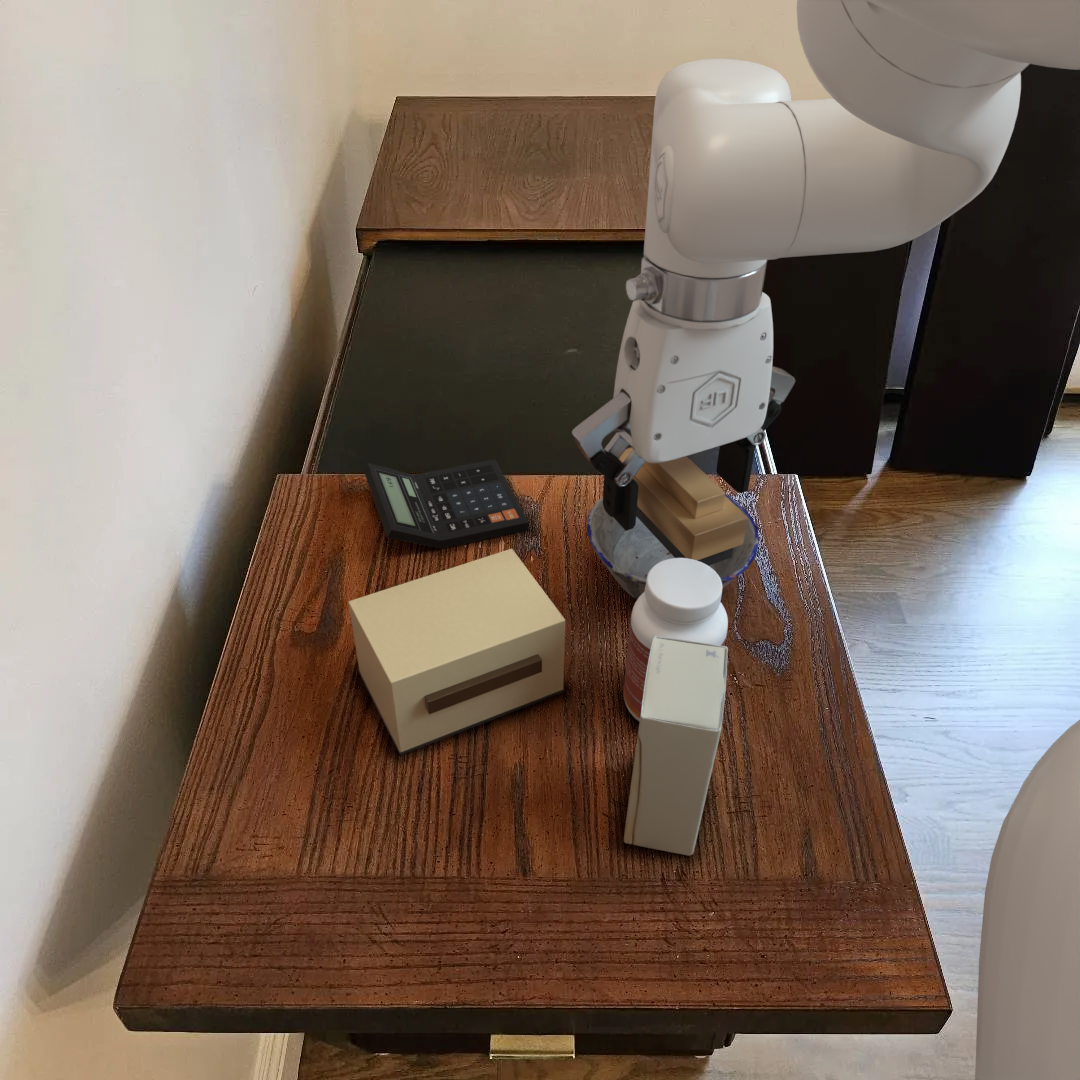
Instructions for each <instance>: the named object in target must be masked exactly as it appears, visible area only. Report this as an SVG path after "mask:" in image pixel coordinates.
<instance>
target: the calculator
mask: <svg viewBox="0 0 1080 1080" xmlns="http://www.w3.org/2000/svg"><path fill="white" fill-rule="evenodd" d="M363 472H364V476H365V478H366V482H367V484H368V487H369V490H370V492H371V496H372V498H373V502H374V505H375V508H376V511H377V513H378V516H379V519H380V522H381V524H382V527H383V530H384V533H385V536H386V538H387V539H390V540H395V541H401V542H405V543H411V544H415V545H420V546H425V547H430V548H435V549H441V550H442V549H443V550H444V549H447V548H451V547H452V548H453V547H457V546H462V545H467V544H470V543H475V542H479V541H486V540H490V539H494V538H499V537H504V536H508V535H513V534H517V533H522V532H528V531H529V521H528V519H527V517H526V515H525V513H524V511H523V509H522V507H521V506H520V505H521V504H520V503H519V502H518V500H517V498H516V496H515V494H514V492H513V490H512V488H511V486H510V484H509V482H508V481H507V479H506V477H505V475H504V473H503V471H502V469H501V467H500V466H499V463H498V461H497V460H496V458H494V459H489V460H484V461H478V462H472V463H467V464H463V465H457V466H452V467H447V468H442V469H436V470H431V471H426V472H420V473H416V474H415V473H414V474H412V473H408V472H404V471H401V470H397V469H393V468H390V467H386V466H381V465H378V464H375V463H371V462H367V463H366V465H365V467H364V470H363Z"/></svg>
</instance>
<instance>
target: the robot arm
mask: <svg viewBox="0 0 1080 1080" xmlns="http://www.w3.org/2000/svg"><path fill="white" fill-rule="evenodd" d="M796 20H797V21H796V23H797V30H798V37H799V40H800V45H801V47H802V50H803V53H804V56H805V58H806V61H807V62H808V65H809V67H810V69H811V70H812V72H813V74H814V75H815V77H816V79H817V80H818V82H819V83H820V84H821V86H822V87H823V88H824V90H825V91H826V92H827V93H828V94H829V95H830V97H831V98H819V99H799V100H798V99H797V100H792V94H791V89H790V85H789V83H788V81H787V80H786V78H785V77H784V76H783V75H782V74H781V73H780V72H779V71H777V70H776V69H774V68H772V67H769V66H767V65H764V64H761V63H757V62H755V61H754V62H753V61H748V60H743V59H733V58H705V59H698V60H692V61H688V62H684V63H681V64H678V65H676V66H674V67H673V68H671V69H670V70H669V71H667V72H666V73H665V74H664V75H663V77H662V79H661V80H660V82H659V84H658V85H657V90H656V93H655V99H654V106H653V107H654V108H653V120H652V132H651V146H650V158H649V160H650V161H649V173H648V174H649V175H648V185H647V186H648V188H647V199H646V215H645V227H644V229H645V230H644V241H643V242H644V243H643V257H641V264H640V274H638V275H637V276H636V277H633V278H628V280H626V283H625V293H626V296H627V298H628V299H629V300H630V301H631V302H632V303H631V307H630V310H629V313H628V316H627V319H626V323H625V326H624V329H623V330H624V331H623V334H622V339H621V344H620V348H619V354H618V360H617V363H616V364H617V365H616V371H615V378H614V387H613V396H612V399H610V400H609V401H608V402H606V403H605V404H603V405H602V406H601V407H600V408H599V409H598V410H596V411H594V412H593V413H592V414H590V415H589V416H588V417H587V418H586V419H584V420H582V422H580V423H579V424H578V425H577V426H575V427H574V428H573V429H572V431H571V437H572V439H573V441H574V442H575V444H576V445H577V447H578V449H579V450H580V452H581V453H582V456H583V457H584V458H585V459H586V460H587V462H588V463H589V464H590V465H591V466H592V467H593V468H594V469H595V470H596V471H598V472H599V473H601V474H602V475H603V491H602V497H603V506H604V509H605V511H606V512H607V514H608V515H609V516H610V517H614V519H615V520H616V521H617V522H618V523H619V524H620V525H621V526H622V527H623V528H624V530H626V531H627V530H630V529H633V528H634V526H635V525H636V513H637V501H638V489H639V487H638V484H637V482H636V481H635V480H634V479H633V478H634V477H635V475H636V474H637V473H638V471H639V470H640V469H641V467H642V466H643V465H644V463H645V462H648V463H663V462H667V461H671V460H675V459H678V458H681V457H685V456H687V457H688V456H692V455H694V454H698V453H701V452H704V451H707V450H711V449H714V448H718V447H719V449H718V455H717V462H716V468H715V469H716V474H717V475H718V476H719V477H720V478H721V479H722V480H723V481H724V482H725V483H726V484H728V485H729V486H730V487H731V489H733V490H734V491H735V492H737V493H739V494H743V493H746V492H748V491H749V488H750V487H749V486H750V482H751V474H752V469H753V464H754V458H755V452H756V447H757V446H759V445H761V444H762V443H763V442H764V441H765V440H766V436H767V434H766V432H765V431H766V430H767V429H768V428H769V426H770V425H771V424H772V423H773V422H774V421H775V420H776V418H777V417H779V415H780V414H781V412H782V406H781V405H782V403H785V400H786V399H787V397H788V396H789V394H790V392H791V390H792V389H793V387H794V385H795V383H796V379H795V377H794V376H792V375H791V374H790V373H789V372H787V371H786V370H784V369H783V368H780V367H777V366H774V365H773V362H774V361H773V359H774V322H773V312H772V303H771V298H770V296H769V295H768V294H766V293H765V292H763V290H764V283H765V277H766V272H767V271H766V270H767V264H768V261H770V260H771V261H772V260H778V259H782V258H784V259H785V258H797V257H798V258H799V257H809V256H810V257H811V256H824V255H839V254H840V255H841V254H853V253H854V254H856V253H869V252H870V253H871V252H877V251H882V250H887V249H891V248H894V247H895V248H896V247H898V246H900V245H904V244H906V243H908V242H911V241H913V240H915V239H916V238H919V237H920V236H923V235H924V234H926V233H927V232H930V231H931V230H932V229H934V228H935V227H937V226H938V225H940V224H942V223H943V222H944V221H945V220H946V219H948V218H950V217H951V216H953V215H954V214H955V213H957V212H958V211H960V210H962V208H963V207H965V206H966V205H968V204H969V203H971V202H972V201H973V200H974V199H975V198H976V197H978V195H980V194H981V193H982V192H983V191H984V190H985V188H986V187H987V186H988V185H989V184H990V182H991V181H992V180H993V178H994V176H995V175H996V173H997V171H998V169H999V166H1000V164H1001V163H1002V160H1003V158H1004V156H1005V153H1006V151H1007V149H1008V146H1009V144H1010V141H1011V137H1012V134H1013V132H1014V129H1015V126H1016V125H1015V124H1016V121H1017V118H1018V115H1019V109H1020V101H1021V99H1020V98H1021V93H1022V92H1021V91H1022V75H1021V74H1022V72H1023V71H1024V70H1025V69H1026V68H1027V67H1029V66H1030V65H1034V66H1040V67H1046V68H1053V69H1054V68H1055V69H1063V70H1065V69H1066V70H1072V71H1073V70H1075V71H1080V0H796ZM613 432H615V434H614V435H613V436H612V438H611V439H610V441H609V442H608V443H607V444H606V446H605V447H603V440H604V439H605V438H606V437H607V436H609V435H610V434H611V433H613ZM629 446H630V448H631V447H632V448H633V450H632V451H631V452H630V454H629V455H628V456H627V458H626V459H625V460H624V462H623V463H622V462H621V461H620V460H619V458H620V456H621V455H622V454H623V452H624V451H625V450H626V449H628V448H629ZM982 910H983V911H982V912H983V913H982V921H981V922H982V923H981V935H980V946H979V957H978V958H979V959H978V977H977V978H978V979H977V980H978V982H977V1009H976V1010H977V1011H976V1013H977V1014H976V1041H975V1070H974V1080H1080V719H1079V720H1077V721H1076V722H1075V723H1073V724H1072V725H1071V726H1069V727H1068V728H1067V729H1066V730H1065V731H1064V732H1063V733H1062V734H1061V735H1060V736H1059V737H1058V738H1057V739H1056V740H1055V741H1054V742H1053V743H1052V744H1051V745H1050V746H1049V747H1048V749H1047V750H1046V751H1045V752H1044V754H1042V755H1041V757H1040V758H1039V759H1038V760H1037V762H1036V763H1035V764H1034V766H1033V767H1032V768H1031V770H1030V772H1029V774H1028V775H1027V777H1026V778H1025V779H1024V781H1023V783H1022V785H1021V786H1020V788H1019V791H1018V793H1017V795H1016V797H1015V799H1014V800H1013V802H1012V804H1011V806H1010V808H1009V810H1008V811H1007V813H1006V815H1005V817H1004V819H1003V821H1002V824H1001V827H1000V830H999V833H998V837H997V839H996V842H995V844H994V848H993V851H992V854H991V857H990V862H989V869H988V874H987V878H986V885H985V890H984V900H983V909H982Z"/></svg>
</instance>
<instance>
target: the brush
mask: <svg viewBox="0 0 1080 1080" xmlns="http://www.w3.org/2000/svg"><path fill="white" fill-rule="evenodd" d="M632 450H633V448H632V447H631V446H630V447H627V448H626V450H625V451H624V452H623V454H622V455H621V456H620V458H619V460H620V461H621V462H622V463H623V462H624V460H625V459H626V458H627V456H628V455H629V454H630V452H631V451H632ZM633 479H634V480H635V481H636V482H637V484H638V487H639V489H638V501H637V513H636V517H637V518H638V519H639V520H640V521H641V522H642V523H643V524H644V525H645V526H646V527H647V528H648V529H649V531H650V532H651V533H652V534H653V535H654V536H655V537H656V538H657V539H658V540H659V541H660V542H661V543H662V545H663V546H664V547H665V548H666V549H667V550H668V551H669V552H670V553H671V554H672V555H673V556H674V558H688V559H693V560H697V561H699V562H702V563H704V564H706V565H708V566H709V565H712V564H715V563H718V562H720V561H723V560H726V559H729V558H731V557H732V554H733V548H734V547H737V546H739V545H742V544H743V541H744V535H745V530H746V524H747V519H748V518H747V516H746V515H744V514H743V513H742V512H741V511H740V510H739V509H738V508H737V507H736V506H735V505H734V504H733V503H732V502H731V501H730V500H729V499H728V498H726V497H725V494H726V492H725V491H724V490H723V489H722V488H721V487H720V486H719V485H718V484H716V482H715V481H713V479H711V478H710V477H709V476H708V475H707V474H706V473H705V472H704V471H703V470H702V469H701V468H700V467H699V466H698V465H696V464H695V462H693V461H692V460H691V459H690V458H689V457H688V456H685V457H681V458H678V459H675V460H671V461H667V462H663V463H648V462H645V463H644V465H643V466H642V467H641V469H640V470H639V471H638V473H637V474H636V475H635V477H634V478H633Z"/></svg>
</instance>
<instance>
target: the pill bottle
mask: <svg viewBox="0 0 1080 1080" xmlns="http://www.w3.org/2000/svg"><path fill="white" fill-rule="evenodd" d="M722 594H723V588H722V582H721V579H720V577H719V575H718V574H717V573H716V572H715V571H714V570H713V569H712V568H711V567H709V566H708V565H706V564H704V563H702V562H699V561H697V560H693V559H688V558H672V559H667V560H664V561H661V562H659V563H658V564H656V565H655V566H654V567H653V568H652V569H651V570H650V571H649V573H648V576H647V580H646V586H645V592H644V593H643V594H641V596H640V597H639V598H638V599H637V600H636V601H635V602H634V605H633V607H632V610H631V616H630V622H629V623H630V624H629V633H628V641H627V642H628V643H627V653H626V663H625V673H624V682H623V700H624V703H625V706H626V707H625V708H627V710H628V712H629V713H630V715H631V716H632V717H633V718H634V719H635V720H636V721H637V722H639V723H640V715H641V707H642V699H643V692H644V685H645V678H646V672H647V666H648V660H649V655H650V650H651V645H652V641H653V638H654V637H655V636H660V637H667V638H674V639H682V640H687V641H694V642H701V643H706V644H713V645H718V646H726V641H727V635H728V628H729V618H728V614H727V611H726V609H725V607H724V605H723V603H722V602H721V600H722V596H723V595H722Z"/></svg>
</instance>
